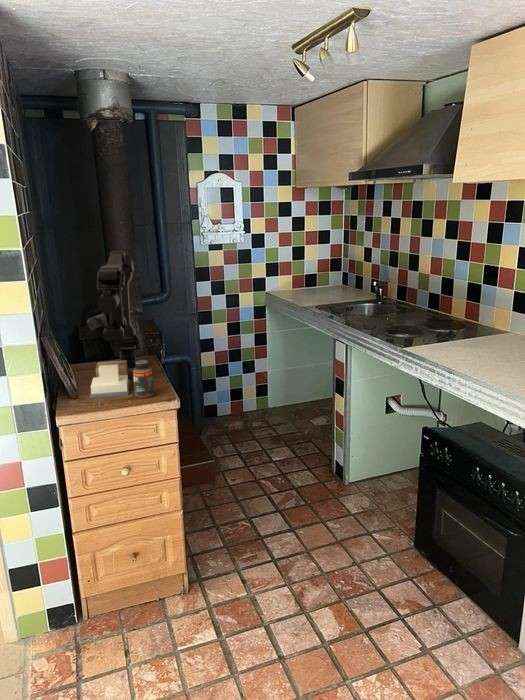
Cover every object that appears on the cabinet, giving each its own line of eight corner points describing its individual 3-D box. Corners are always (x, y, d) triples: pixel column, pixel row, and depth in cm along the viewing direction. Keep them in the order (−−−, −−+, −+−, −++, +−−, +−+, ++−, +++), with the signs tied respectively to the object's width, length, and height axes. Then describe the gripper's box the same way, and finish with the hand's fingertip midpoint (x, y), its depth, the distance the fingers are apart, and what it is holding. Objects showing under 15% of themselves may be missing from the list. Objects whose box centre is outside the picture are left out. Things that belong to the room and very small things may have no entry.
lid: (93, 384, 182) (91, 363, 180) (128, 382, 184) (126, 360, 182) (91, 394, 173) (89, 371, 171) (127, 391, 175) (125, 369, 173)
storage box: (98, 375, 193) (97, 362, 191) (127, 373, 195) (126, 360, 193) (96, 382, 185) (95, 369, 184) (126, 380, 187) (125, 366, 186)
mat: (93, 384, 184) (93, 382, 184) (129, 381, 186) (129, 379, 186) (89, 398, 171) (89, 396, 171) (128, 395, 173) (128, 393, 173)
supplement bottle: (155, 391, 176) (153, 358, 173) (152, 398, 170) (149, 364, 167) (136, 392, 176) (134, 359, 173) (133, 399, 170) (130, 364, 167)
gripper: (90, 301, 183) (95, 345, 188) (83, 313, 166) (89, 362, 170) (124, 299, 185) (128, 343, 190) (121, 312, 167) (125, 359, 172)
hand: (117, 351), depth 180 cm, fingers open, 9 cm apart
